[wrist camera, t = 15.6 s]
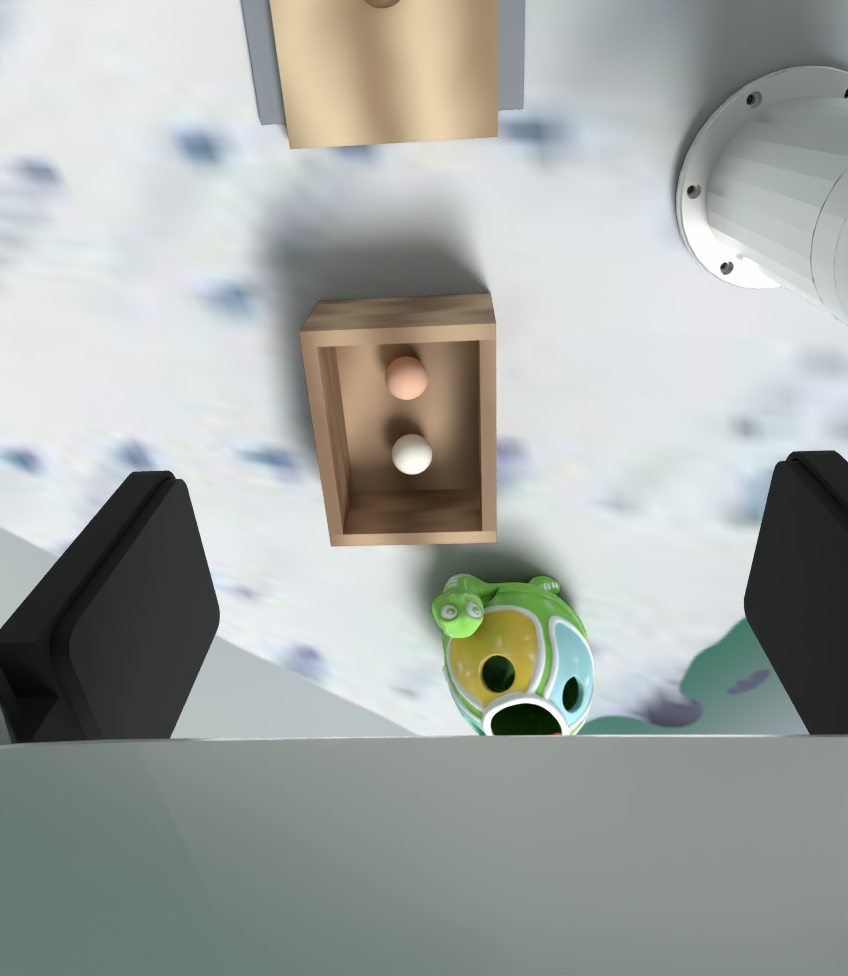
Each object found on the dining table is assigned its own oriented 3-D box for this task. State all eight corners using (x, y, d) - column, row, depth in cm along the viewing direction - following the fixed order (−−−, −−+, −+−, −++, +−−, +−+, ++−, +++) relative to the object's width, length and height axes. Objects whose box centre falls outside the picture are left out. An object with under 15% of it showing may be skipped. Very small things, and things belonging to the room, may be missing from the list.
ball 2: (431, 426, 51) (430, 444, 49) (433, 461, 53) (432, 481, 50) (391, 428, 51) (388, 446, 49) (394, 463, 53) (391, 482, 50)
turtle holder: (512, 504, 56) (525, 599, 45) (607, 647, 63) (637, 756, 53) (386, 567, 59) (372, 668, 49) (491, 695, 67) (497, 806, 56)
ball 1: (427, 349, 48) (425, 364, 46) (429, 389, 50) (428, 405, 47) (385, 351, 48) (381, 366, 46) (388, 390, 50) (385, 407, 47)
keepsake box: (490, 293, 47) (496, 323, 41) (491, 492, 55) (496, 542, 49) (318, 300, 48) (298, 331, 42) (344, 496, 56) (331, 546, 50)
